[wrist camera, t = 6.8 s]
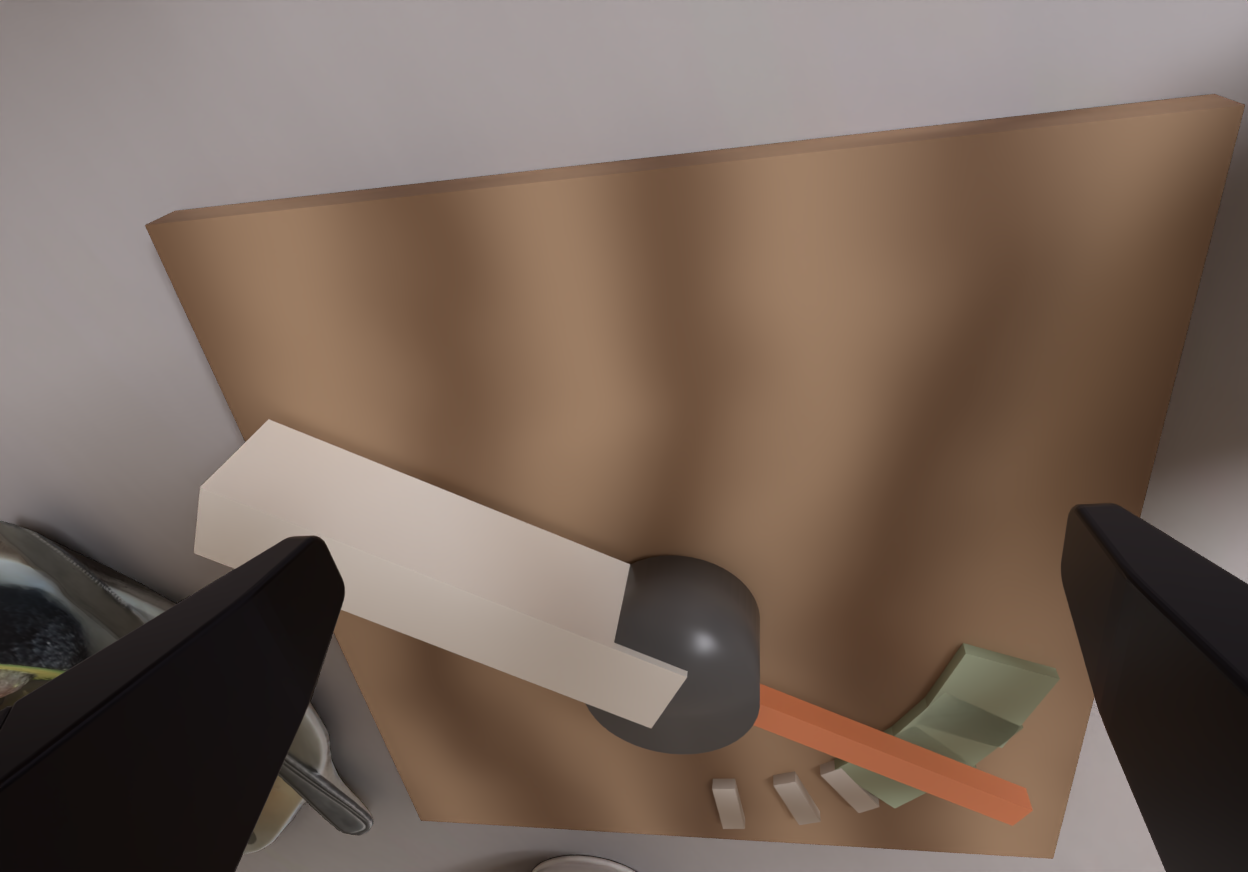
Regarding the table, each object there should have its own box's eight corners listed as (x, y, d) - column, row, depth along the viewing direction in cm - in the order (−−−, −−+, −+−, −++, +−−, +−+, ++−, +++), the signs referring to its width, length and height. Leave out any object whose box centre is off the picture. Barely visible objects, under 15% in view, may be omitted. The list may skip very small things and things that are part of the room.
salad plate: (463, 701, 30) (421, 813, 27) (314, 874, 40) (267, 975, 36) (-33, 444, 27) (-166, 530, 23) (-69, 701, 36) (-168, 793, 32)
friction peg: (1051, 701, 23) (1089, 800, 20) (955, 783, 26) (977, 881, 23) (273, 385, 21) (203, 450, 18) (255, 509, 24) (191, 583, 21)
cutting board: (1214, 93, 16) (1256, 109, 14) (1042, 826, 29) (1056, 869, 27) (174, 211, 20) (134, 230, 19) (431, 794, 33) (417, 829, 32)
